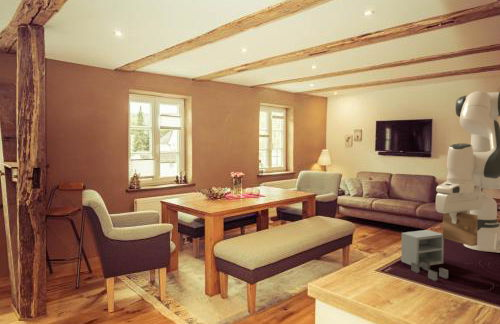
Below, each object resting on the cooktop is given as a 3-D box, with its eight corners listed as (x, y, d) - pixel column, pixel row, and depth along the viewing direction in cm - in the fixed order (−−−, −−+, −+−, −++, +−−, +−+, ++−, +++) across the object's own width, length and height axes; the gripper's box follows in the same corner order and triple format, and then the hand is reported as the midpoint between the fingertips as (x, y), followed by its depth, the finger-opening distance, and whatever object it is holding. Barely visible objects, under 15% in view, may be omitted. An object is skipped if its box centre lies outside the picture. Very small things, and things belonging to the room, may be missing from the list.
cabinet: (427, 257, 147) (427, 229, 146) (443, 263, 139) (443, 234, 139) (401, 261, 142) (401, 232, 142) (416, 267, 135) (416, 237, 134)
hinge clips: (423, 268, 134) (423, 260, 134) (448, 278, 124) (448, 270, 124) (411, 270, 132) (411, 262, 132) (435, 280, 122) (435, 272, 122)
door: (448, 236, 137) (448, 209, 136) (477, 245, 125) (477, 215, 125) (440, 237, 135) (441, 210, 135) (469, 246, 124) (469, 216, 123)
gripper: (472, 184, 136) (471, 218, 136) (432, 187, 129) (432, 223, 130) (487, 185, 130) (487, 221, 130) (447, 189, 123) (446, 227, 124)
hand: (459, 222), depth 130 cm, fingers closed on door, 3 cm apart
